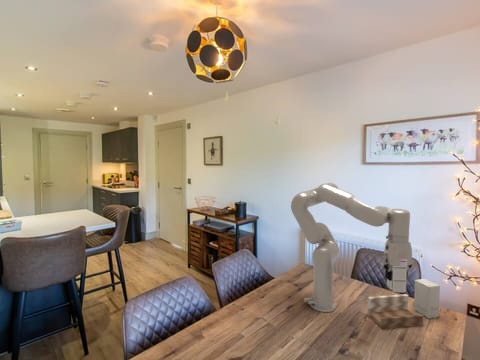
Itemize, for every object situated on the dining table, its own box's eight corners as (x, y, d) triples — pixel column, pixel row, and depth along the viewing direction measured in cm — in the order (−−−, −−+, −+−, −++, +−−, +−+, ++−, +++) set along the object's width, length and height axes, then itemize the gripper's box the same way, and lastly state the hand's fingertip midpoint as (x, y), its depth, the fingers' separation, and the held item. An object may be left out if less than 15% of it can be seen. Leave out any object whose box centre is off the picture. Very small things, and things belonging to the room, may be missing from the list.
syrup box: (406, 292, 111) (408, 259, 110) (391, 292, 111) (393, 258, 110) (399, 286, 116) (400, 254, 115) (385, 285, 117) (386, 253, 116)
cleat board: (382, 328, 116) (383, 309, 116) (367, 314, 127) (368, 296, 126) (422, 325, 119) (424, 306, 118) (405, 311, 129) (406, 294, 129)
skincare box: (439, 317, 125) (441, 285, 124) (427, 319, 123) (429, 287, 122) (423, 307, 133) (425, 277, 132) (412, 309, 132) (414, 279, 130)
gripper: (384, 241, 108) (382, 283, 109) (424, 240, 109) (421, 282, 111) (373, 236, 115) (372, 275, 116) (410, 235, 117) (408, 274, 118)
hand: (396, 278), depth 113 cm, fingers closed on syrup box, 6 cm apart
